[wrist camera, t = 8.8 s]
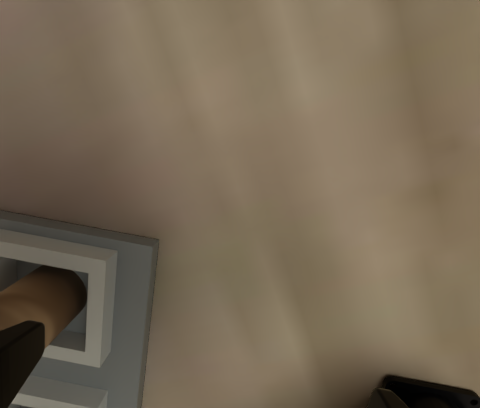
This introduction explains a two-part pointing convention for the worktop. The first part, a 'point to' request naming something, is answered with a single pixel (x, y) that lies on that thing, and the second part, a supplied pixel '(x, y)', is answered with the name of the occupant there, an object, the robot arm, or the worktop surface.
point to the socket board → (86, 311)
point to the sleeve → (44, 300)
